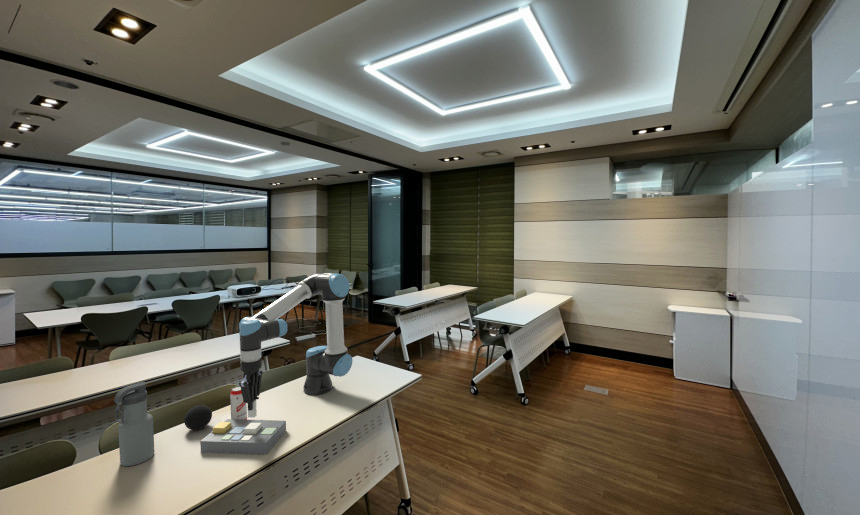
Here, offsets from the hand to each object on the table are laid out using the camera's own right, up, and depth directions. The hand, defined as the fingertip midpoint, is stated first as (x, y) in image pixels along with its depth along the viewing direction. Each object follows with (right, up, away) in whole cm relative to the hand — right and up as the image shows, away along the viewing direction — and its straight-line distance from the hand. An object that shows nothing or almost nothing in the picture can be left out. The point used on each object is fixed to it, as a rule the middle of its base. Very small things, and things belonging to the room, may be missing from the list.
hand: (252, 416), depth 137 cm
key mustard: (-13, -6, +1) cm, 14 cm away
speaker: (-29, -10, +10) cm, 32 cm away
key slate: (-6, -8, +1) cm, 10 cm away
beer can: (-13, -10, +14) cm, 22 cm away
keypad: (-3, -10, +1) cm, 11 cm away
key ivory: (0, -6, 0) cm, 6 cm away
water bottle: (-38, -11, -10) cm, 41 cm away
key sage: (+7, -8, 0) cm, 11 cm away
